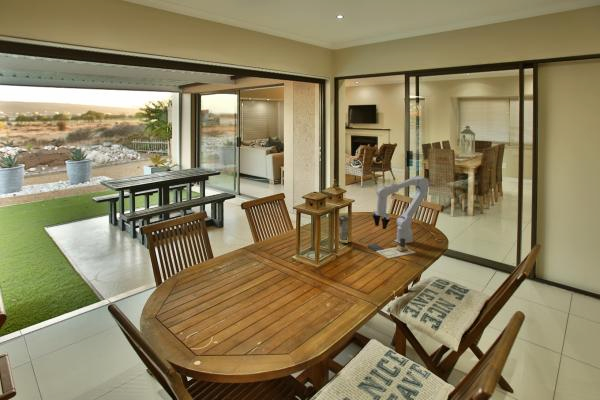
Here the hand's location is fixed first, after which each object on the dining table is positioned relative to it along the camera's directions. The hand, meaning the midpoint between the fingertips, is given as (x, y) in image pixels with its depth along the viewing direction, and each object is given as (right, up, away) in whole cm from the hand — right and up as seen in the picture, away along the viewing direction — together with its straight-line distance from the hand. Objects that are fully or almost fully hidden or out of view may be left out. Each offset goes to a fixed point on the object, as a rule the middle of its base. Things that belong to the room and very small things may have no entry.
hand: (380, 227), depth 230 cm
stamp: (+10, -13, -12) cm, 21 cm away
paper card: (+6, -14, -14) cm, 21 cm away
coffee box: (-23, -10, +6) cm, 26 cm away
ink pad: (-5, -12, -7) cm, 15 cm away
